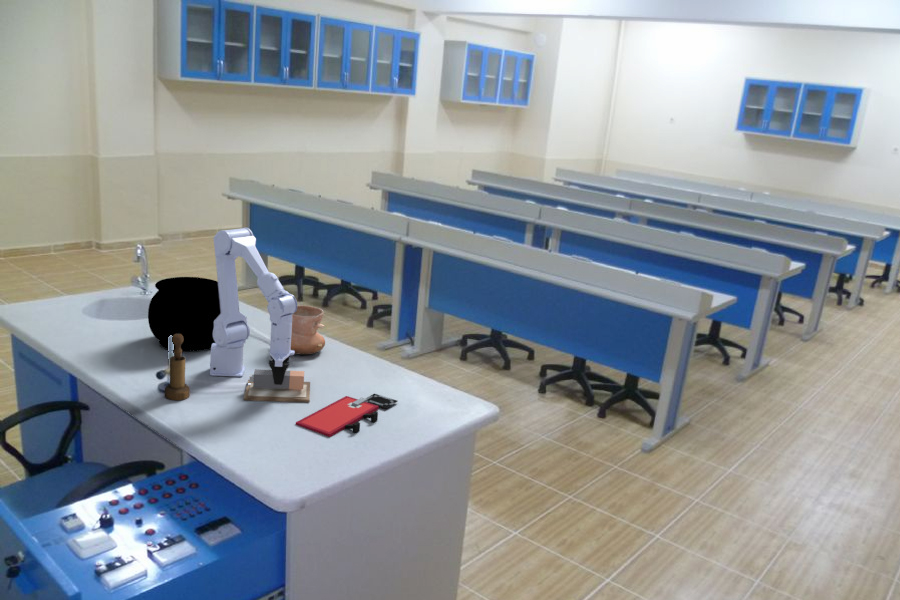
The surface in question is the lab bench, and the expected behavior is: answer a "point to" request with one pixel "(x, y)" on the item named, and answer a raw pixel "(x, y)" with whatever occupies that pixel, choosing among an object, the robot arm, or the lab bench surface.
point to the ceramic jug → (307, 330)
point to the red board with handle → (345, 414)
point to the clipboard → (278, 394)
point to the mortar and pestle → (177, 373)
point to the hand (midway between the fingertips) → (278, 381)
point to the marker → (266, 379)
